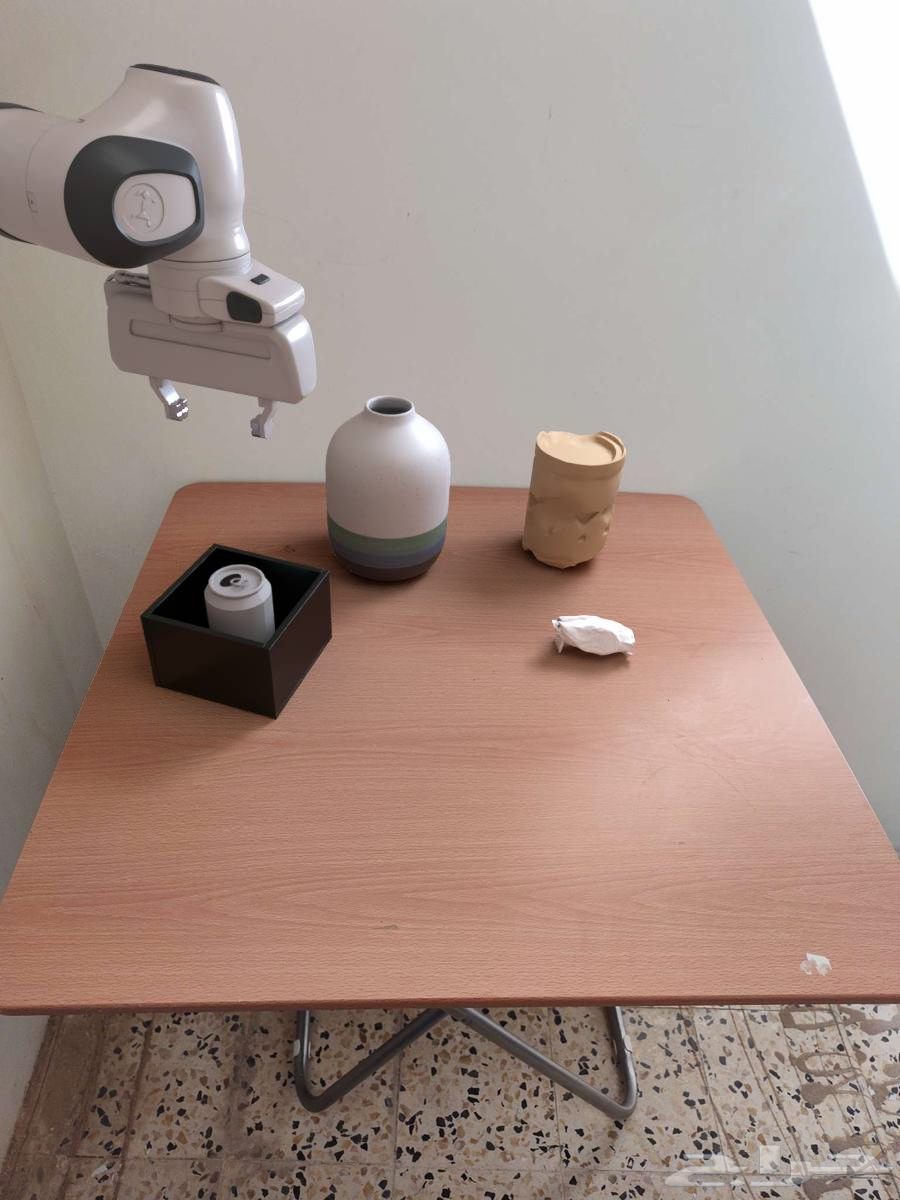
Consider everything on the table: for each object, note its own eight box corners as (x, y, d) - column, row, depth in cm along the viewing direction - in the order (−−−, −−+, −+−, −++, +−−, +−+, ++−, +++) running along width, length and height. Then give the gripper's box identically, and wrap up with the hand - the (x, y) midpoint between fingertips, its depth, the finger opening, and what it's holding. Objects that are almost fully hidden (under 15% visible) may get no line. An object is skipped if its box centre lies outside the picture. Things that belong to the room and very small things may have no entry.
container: (512, 531, 126) (526, 425, 115) (588, 527, 128) (608, 423, 117) (534, 578, 116) (551, 467, 105) (615, 572, 119) (640, 463, 108)
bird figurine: (563, 674, 102) (640, 656, 102) (556, 628, 99) (635, 610, 99) (555, 654, 106) (629, 637, 106) (548, 610, 103) (623, 593, 103)
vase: (443, 596, 111) (455, 438, 97) (321, 590, 111) (314, 430, 96) (444, 530, 125) (455, 383, 110) (335, 525, 124) (331, 375, 110)
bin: (155, 685, 94) (139, 615, 88) (223, 609, 106) (213, 543, 100) (276, 719, 91) (269, 649, 85) (332, 637, 103) (329, 570, 97)
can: (243, 630, 102) (234, 552, 95) (290, 652, 99) (284, 573, 92) (201, 663, 97) (187, 583, 90) (249, 687, 94) (239, 606, 87)
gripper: (78, 275, 71) (109, 420, 79) (289, 310, 67) (298, 459, 75) (121, 258, 76) (146, 396, 84) (321, 290, 72) (326, 432, 80)
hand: (219, 426), depth 80 cm, fingers open, 8 cm apart
